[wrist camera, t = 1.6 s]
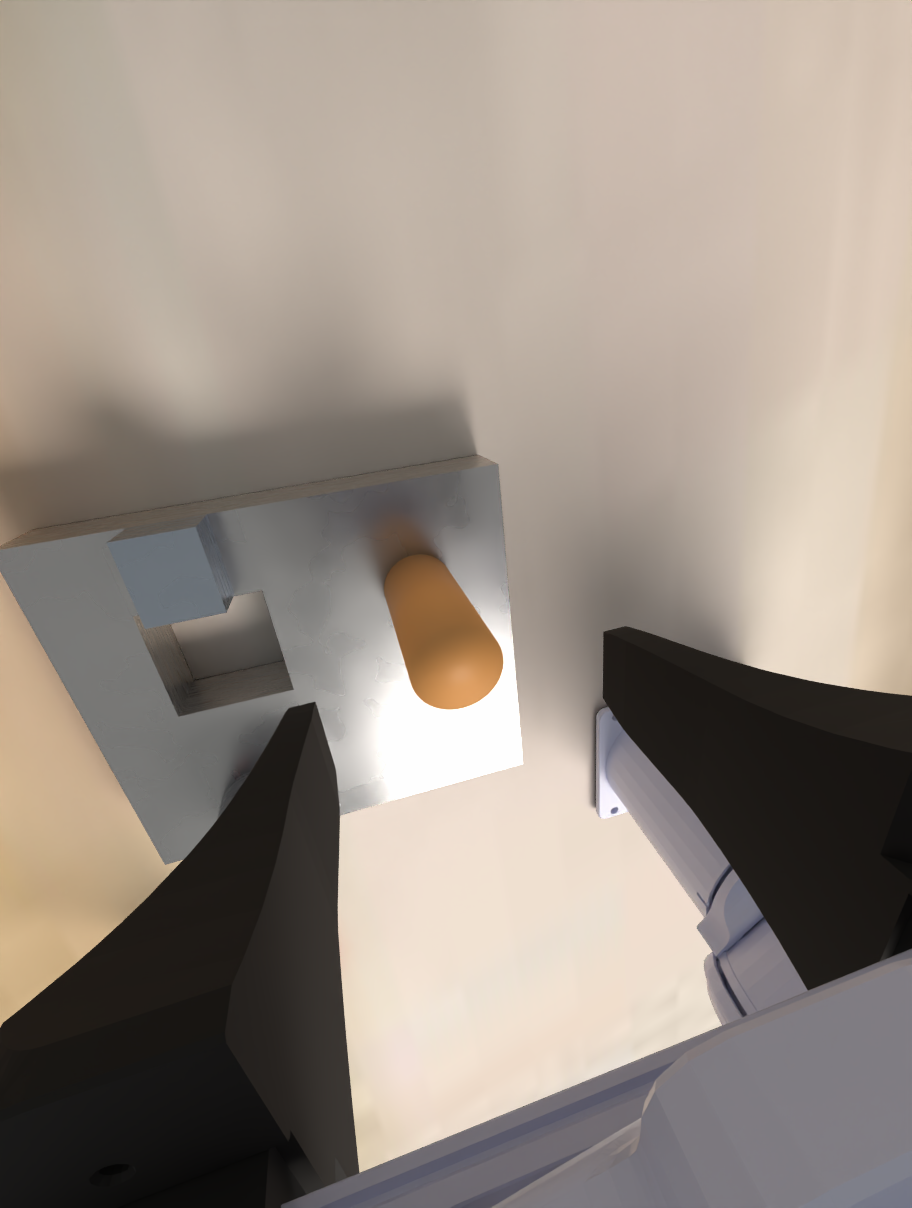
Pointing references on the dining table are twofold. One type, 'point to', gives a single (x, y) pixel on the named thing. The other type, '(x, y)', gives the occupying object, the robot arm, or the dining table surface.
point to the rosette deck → (302, 624)
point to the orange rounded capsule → (441, 635)
